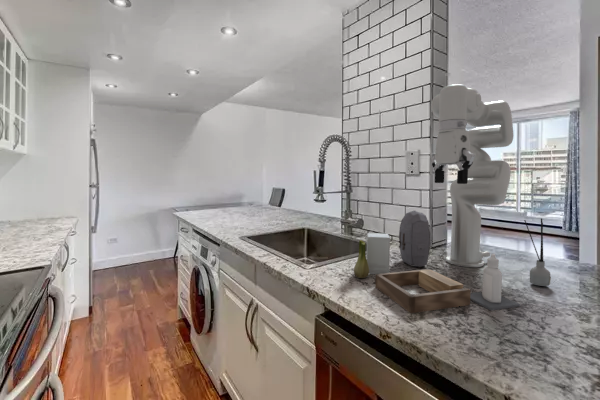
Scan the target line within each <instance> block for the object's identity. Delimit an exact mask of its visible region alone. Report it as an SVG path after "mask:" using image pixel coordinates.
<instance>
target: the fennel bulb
mask: <svg viewBox="0 0 600 400" xmlns="http://www.w3.org/2000/svg"><path fill="white" fill-rule="evenodd" d="M366 247H367V242H365V241H364V240H359V241H358V256H357V260H356V262H355V265H354V268H353V274H354V276H355V277H356V278H357V279H365V278H368V277H369V275H370V274H369V266H368V262H367V252H366Z"/></svg>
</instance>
